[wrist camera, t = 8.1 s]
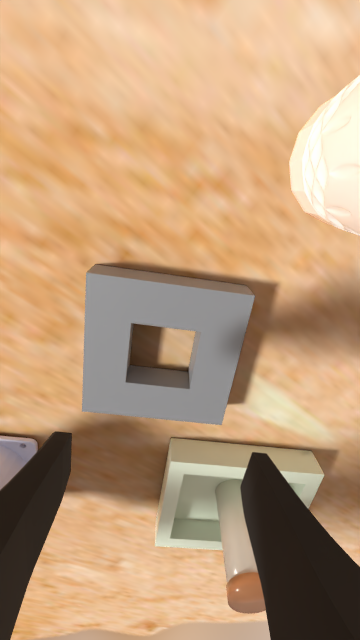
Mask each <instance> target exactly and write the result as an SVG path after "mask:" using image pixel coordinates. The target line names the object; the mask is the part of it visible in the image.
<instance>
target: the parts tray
mask: <svg viewBox="0 0 360 640" xmlns="http://www.w3.org/2000/svg"><path fill="white" fill-rule="evenodd" d="M252 452H258V453H267V454H268V456H269V457H270V459H271V460H272V461H273V463H274V464H275V465H276V467H277V468H278V470H279V471H280V472H281V474H282V475H283V477H284V478H285V479H286V481H287V482H288V483H289V485H290V486H291V487H292V489H293V490H294V491H295V493H296V494H297V495H298V497H299V498H300V499H301V501H302V502H303V503H304V504H305V506H306V507H307V508H308V509H309V507H310V505H311V502H312V500H313V498H314V496H315V494H316V492H317V490H318V488H319V485H320V483H321V481H322V479H323V477H324V473H323V471H322V469H321V467H320V466H319V464H318V462H317V460H316V458H315V456H314V455H313V453H312V451H307V450H297V449H286V448H275V447H265V446H254V445H243V444H232V443H222V442H211V441H200V440H189V439H179V438H171V439H170V445H169V450H168V456H167V461H166V467H165V472H164V478H163V483H162V489H161V494H160V500H159V505H158V511H157V516H156V530H155V546H162V547H178V548H194V549H210V550H223V548H222V541H221V533H220V526H219V518H218V511H217V503H216V495H215V490H216V488H217V486H218V485H219V484H220V483H222V482H224V481H227V480H239V481H242V480H243V477H244V474H245V472H246V469H247V466H248V463H249V460H250V457H251V454H252Z"/></svg>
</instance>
